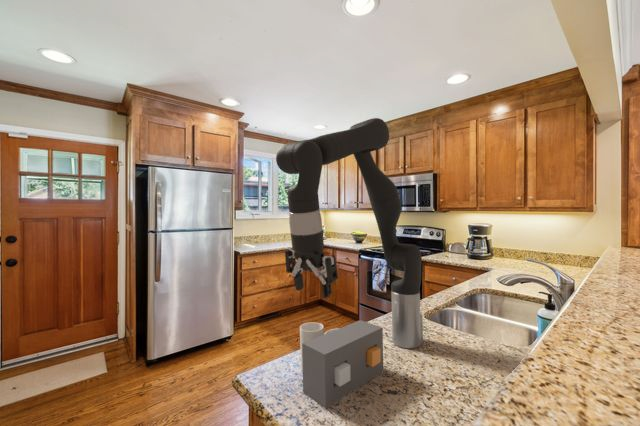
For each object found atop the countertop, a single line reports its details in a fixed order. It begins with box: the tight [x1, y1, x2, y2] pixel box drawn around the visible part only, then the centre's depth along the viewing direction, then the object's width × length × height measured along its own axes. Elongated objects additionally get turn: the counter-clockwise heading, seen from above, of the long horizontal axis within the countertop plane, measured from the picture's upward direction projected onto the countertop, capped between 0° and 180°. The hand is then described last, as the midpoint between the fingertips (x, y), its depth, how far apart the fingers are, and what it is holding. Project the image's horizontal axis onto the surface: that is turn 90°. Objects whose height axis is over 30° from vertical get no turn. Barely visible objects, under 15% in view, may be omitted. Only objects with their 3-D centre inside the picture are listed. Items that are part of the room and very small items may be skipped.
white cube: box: [333, 362, 350, 386], centre depth 67 cm, size 4×4×4 cm
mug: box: [299, 321, 325, 373], centre depth 81 cm, size 10×7×12 cm, turn 24°
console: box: [302, 319, 384, 409], centre depth 73 cm, size 22×8×12 cm, turn 132°
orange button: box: [366, 346, 381, 367], centre depth 75 cm, size 4×4×4 cm
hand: (312, 292), depth 69 cm, fingers open, 8 cm apart
